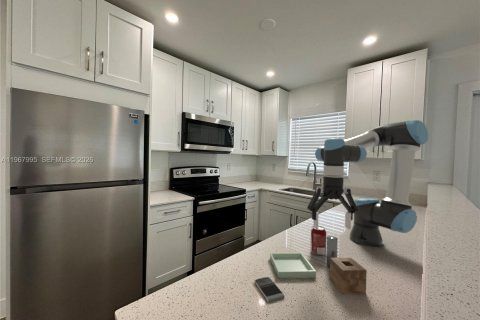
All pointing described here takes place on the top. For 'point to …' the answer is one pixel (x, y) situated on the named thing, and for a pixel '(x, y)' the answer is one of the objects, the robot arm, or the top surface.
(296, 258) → the tray
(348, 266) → the walnut block
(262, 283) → the cell phone
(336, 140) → the robot arm
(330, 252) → the cylinder
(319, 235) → the soda can
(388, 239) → the top surface
